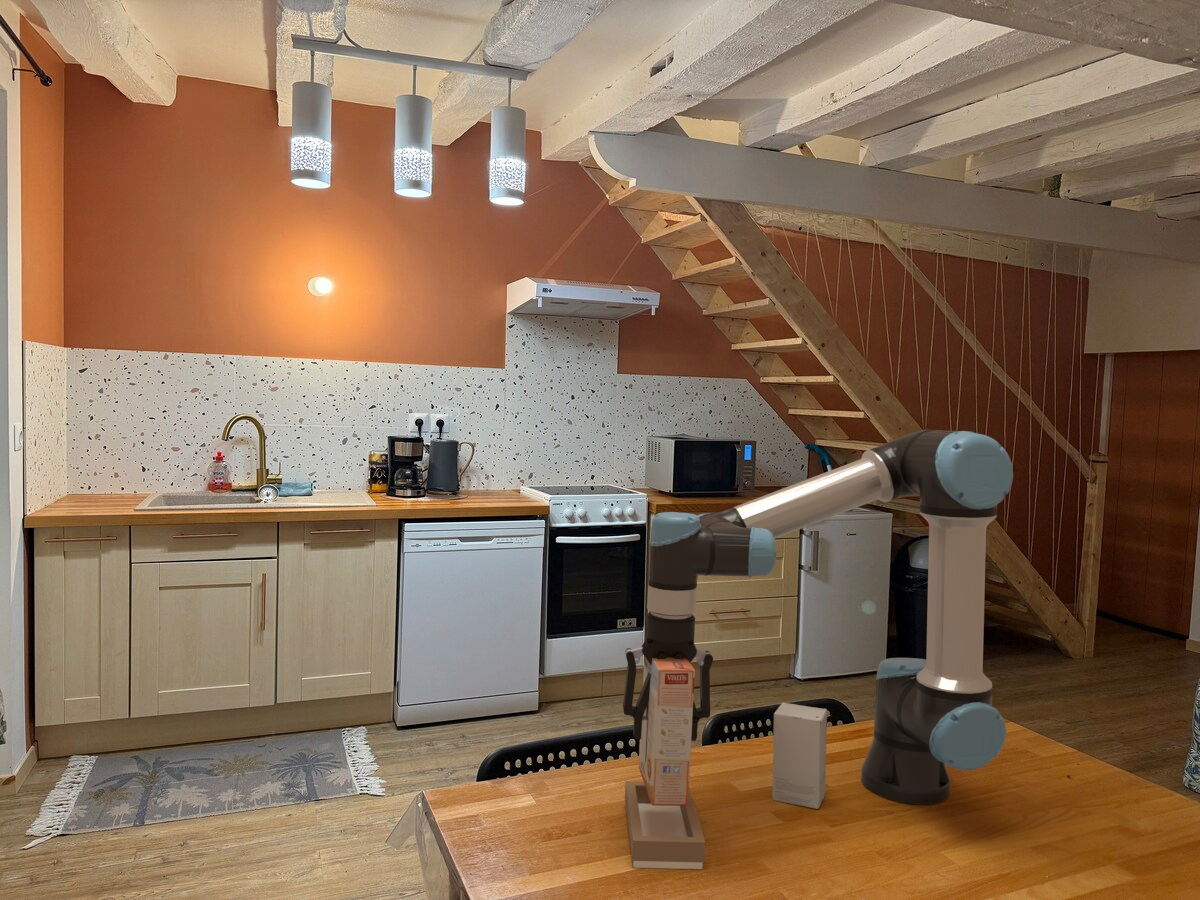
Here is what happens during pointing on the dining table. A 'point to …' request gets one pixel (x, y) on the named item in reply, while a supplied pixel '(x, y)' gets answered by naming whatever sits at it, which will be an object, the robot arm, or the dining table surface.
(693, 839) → the tray
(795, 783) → the skincare box
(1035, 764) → the dining table surface
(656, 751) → the cracker box
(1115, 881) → the dining table surface
